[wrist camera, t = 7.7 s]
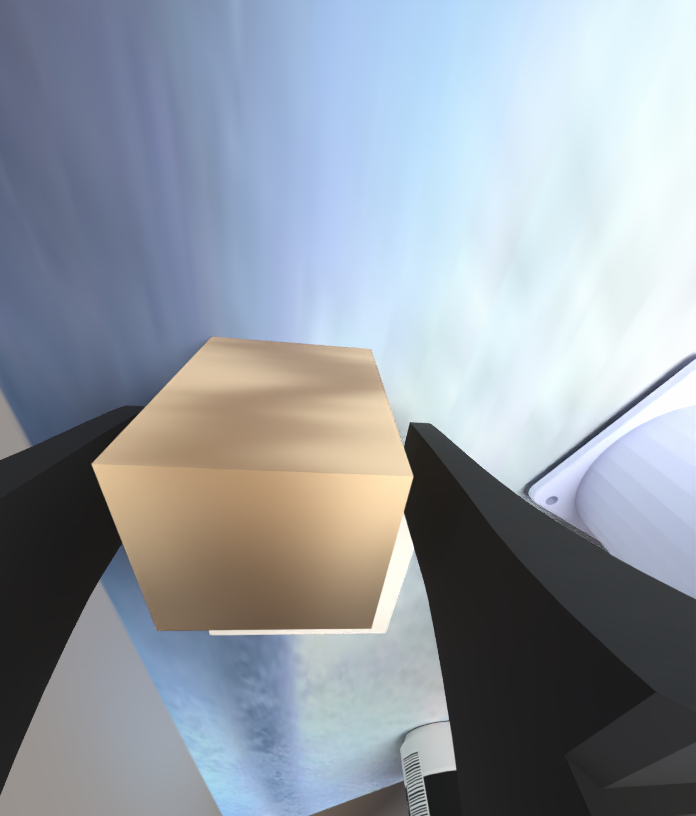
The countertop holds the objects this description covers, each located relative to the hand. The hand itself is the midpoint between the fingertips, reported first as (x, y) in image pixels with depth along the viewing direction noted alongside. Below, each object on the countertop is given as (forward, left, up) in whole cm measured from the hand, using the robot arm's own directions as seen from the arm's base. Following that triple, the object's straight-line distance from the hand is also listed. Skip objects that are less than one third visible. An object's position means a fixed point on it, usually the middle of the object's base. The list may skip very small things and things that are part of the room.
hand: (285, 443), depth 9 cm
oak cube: (0, 0, -2) cm, 2 cm away
